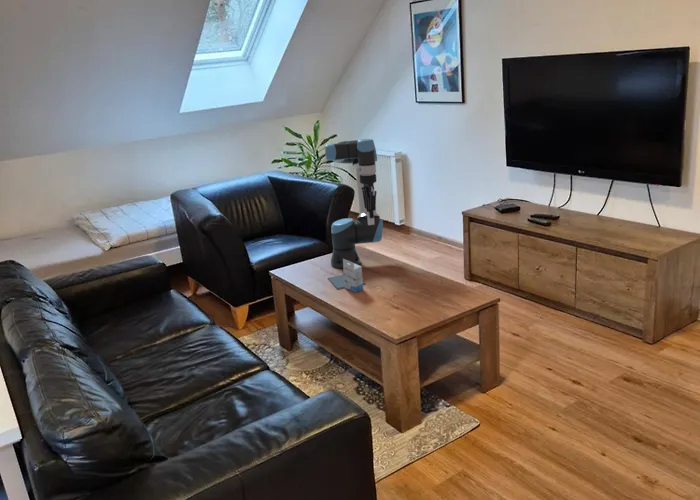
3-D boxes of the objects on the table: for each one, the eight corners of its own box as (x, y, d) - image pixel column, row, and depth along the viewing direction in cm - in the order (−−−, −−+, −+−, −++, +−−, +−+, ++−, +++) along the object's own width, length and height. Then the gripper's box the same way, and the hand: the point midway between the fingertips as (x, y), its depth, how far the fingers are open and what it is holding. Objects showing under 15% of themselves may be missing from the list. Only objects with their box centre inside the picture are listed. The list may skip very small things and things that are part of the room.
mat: (327, 278, 313) (327, 277, 313) (354, 273, 317) (354, 272, 317) (337, 289, 299) (337, 288, 298) (365, 284, 303) (365, 282, 302)
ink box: (363, 289, 296) (362, 260, 290) (355, 292, 293) (353, 263, 287) (352, 283, 302) (350, 255, 296) (343, 287, 299) (342, 258, 294)
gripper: (354, 173, 291) (358, 222, 298) (365, 177, 279) (368, 228, 286) (370, 170, 294) (373, 220, 300) (380, 175, 282) (384, 226, 289)
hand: (371, 224), depth 293 cm, fingers closed
